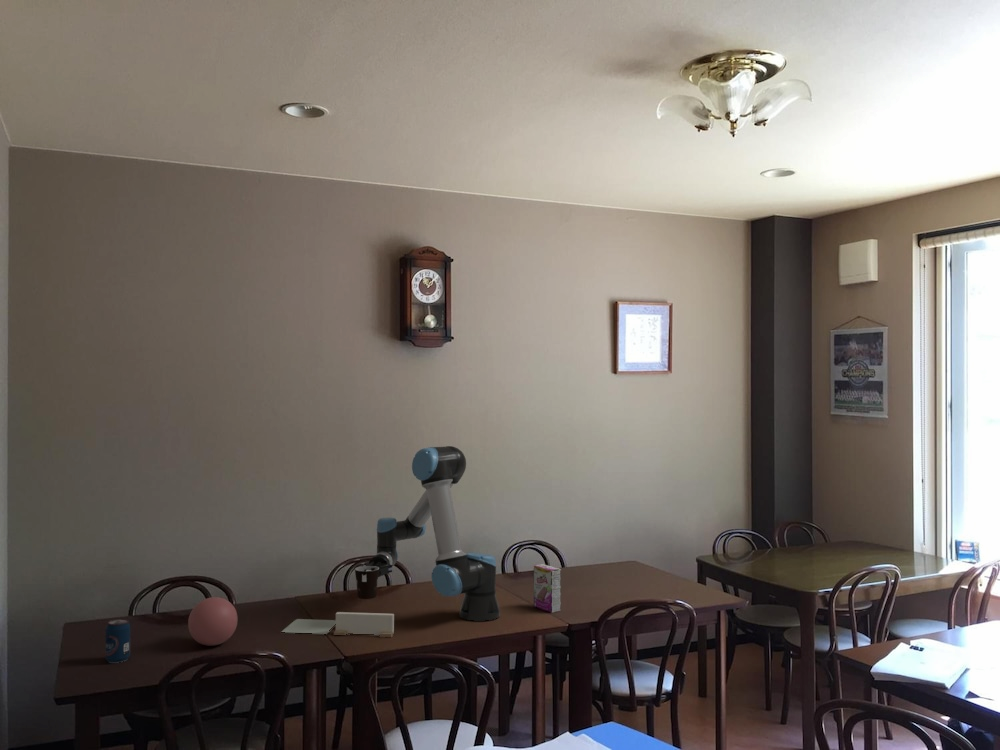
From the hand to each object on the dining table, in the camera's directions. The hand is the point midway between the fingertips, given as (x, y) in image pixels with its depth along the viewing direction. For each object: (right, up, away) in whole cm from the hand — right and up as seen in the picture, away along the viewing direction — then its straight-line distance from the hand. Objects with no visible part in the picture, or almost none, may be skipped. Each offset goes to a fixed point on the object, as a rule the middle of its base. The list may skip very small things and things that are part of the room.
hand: (364, 577), depth 285 cm
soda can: (-71, -17, -34) cm, 80 cm away
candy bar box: (+66, -20, +29) cm, 75 cm away
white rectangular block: (+1, -18, -5) cm, 19 cm away
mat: (-19, -18, +3) cm, 27 cm away
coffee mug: (+1, -8, +5) cm, 10 cm away
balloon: (-48, -18, -16) cm, 54 cm away
